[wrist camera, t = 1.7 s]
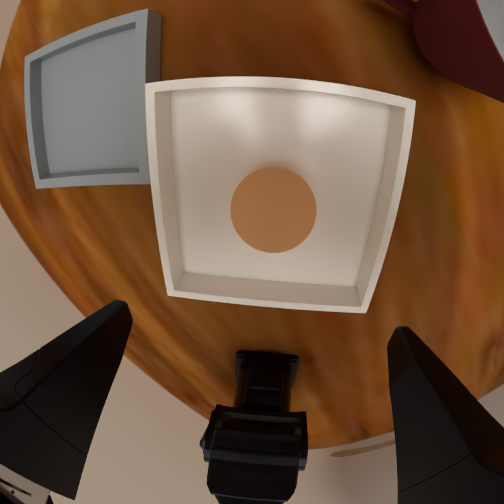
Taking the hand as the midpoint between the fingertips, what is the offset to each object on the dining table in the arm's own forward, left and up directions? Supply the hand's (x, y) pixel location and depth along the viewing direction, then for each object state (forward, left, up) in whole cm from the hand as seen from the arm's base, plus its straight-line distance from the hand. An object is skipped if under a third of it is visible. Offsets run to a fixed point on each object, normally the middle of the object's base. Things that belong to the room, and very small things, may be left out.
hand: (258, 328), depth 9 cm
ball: (0, 0, -9) cm, 9 cm away
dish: (0, 0, -12) cm, 12 cm away
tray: (+7, +14, -12) cm, 20 cm away
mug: (+13, -10, -12) cm, 20 cm away
